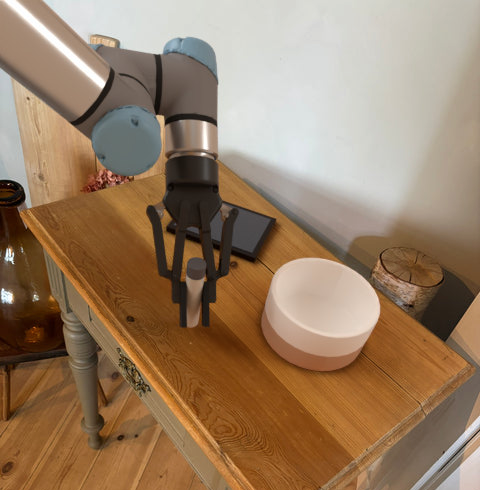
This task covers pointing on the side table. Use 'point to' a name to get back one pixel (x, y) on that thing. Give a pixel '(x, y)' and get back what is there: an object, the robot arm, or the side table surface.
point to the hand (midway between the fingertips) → (194, 326)
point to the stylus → (194, 288)
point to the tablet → (237, 232)
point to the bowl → (319, 313)
